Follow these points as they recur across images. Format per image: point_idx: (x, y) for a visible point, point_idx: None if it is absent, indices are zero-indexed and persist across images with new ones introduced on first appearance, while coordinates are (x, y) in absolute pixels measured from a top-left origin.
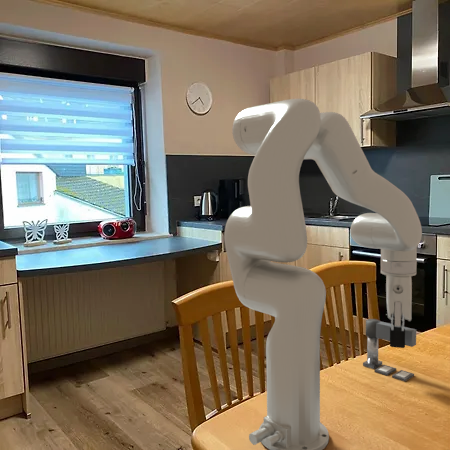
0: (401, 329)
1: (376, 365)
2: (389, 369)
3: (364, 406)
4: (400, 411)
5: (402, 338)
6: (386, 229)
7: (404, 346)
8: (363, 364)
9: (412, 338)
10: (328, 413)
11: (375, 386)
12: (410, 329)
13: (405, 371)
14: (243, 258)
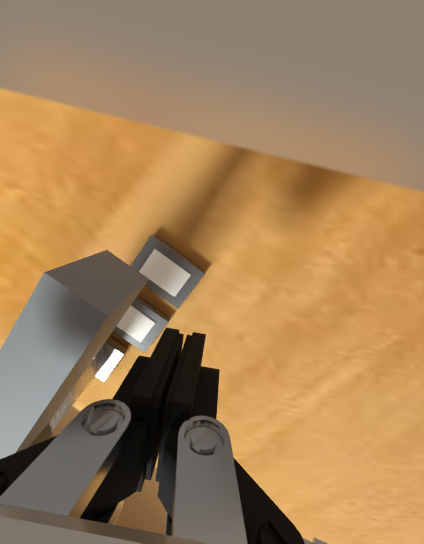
0: (149, 420)
1: (110, 343)
2: (135, 310)
3: (374, 400)
4: (403, 318)
5: (198, 377)
6: None
7: (204, 337)
8: (106, 376)
9: (125, 292)
10: (412, 478)
11: (246, 358)
12: (53, 318)
13: (137, 261)
14: None
